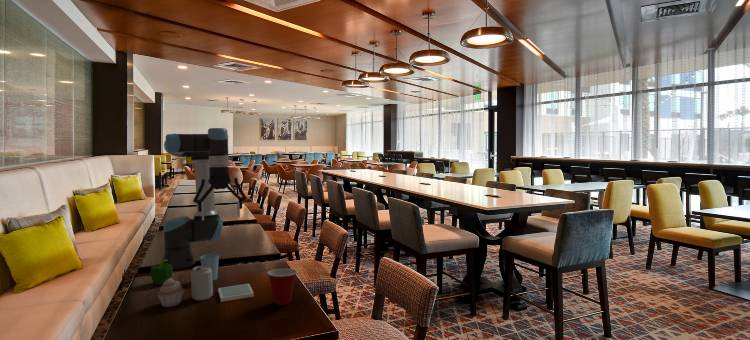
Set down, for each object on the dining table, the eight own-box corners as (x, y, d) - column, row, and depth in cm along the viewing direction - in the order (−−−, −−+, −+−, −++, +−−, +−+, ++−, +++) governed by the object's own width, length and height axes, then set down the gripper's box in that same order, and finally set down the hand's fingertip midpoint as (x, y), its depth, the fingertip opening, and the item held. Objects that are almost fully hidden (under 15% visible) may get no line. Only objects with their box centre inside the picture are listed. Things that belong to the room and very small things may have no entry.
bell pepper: (150, 288, 170) (149, 264, 170) (151, 282, 178) (150, 259, 177) (172, 285, 174) (171, 261, 173) (173, 279, 181) (172, 257, 181)
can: (196, 294, 162) (194, 264, 161) (215, 293, 163) (214, 264, 162) (189, 301, 155) (187, 270, 154) (209, 301, 155) (208, 269, 155)
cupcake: (188, 298, 158) (187, 273, 157) (181, 308, 149) (179, 281, 148) (162, 300, 156) (161, 274, 156) (153, 310, 147) (152, 282, 147)
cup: (218, 275, 186) (217, 252, 185) (221, 280, 179) (220, 256, 178) (200, 278, 182) (199, 255, 181) (202, 283, 175) (201, 259, 174)
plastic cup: (303, 298, 156) (302, 267, 155) (288, 309, 146) (287, 276, 145) (278, 295, 160) (277, 265, 159) (262, 306, 150) (261, 273, 149)
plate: (218, 291, 165) (218, 287, 165) (249, 287, 170) (249, 283, 170) (220, 302, 154) (220, 297, 154) (253, 296, 159) (253, 292, 159)
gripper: (184, 167, 158) (187, 222, 159) (252, 165, 168) (253, 217, 169) (185, 167, 165) (187, 219, 166) (250, 164, 175) (251, 214, 176)
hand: (221, 218), depth 167 cm, fingers open, 13 cm apart
